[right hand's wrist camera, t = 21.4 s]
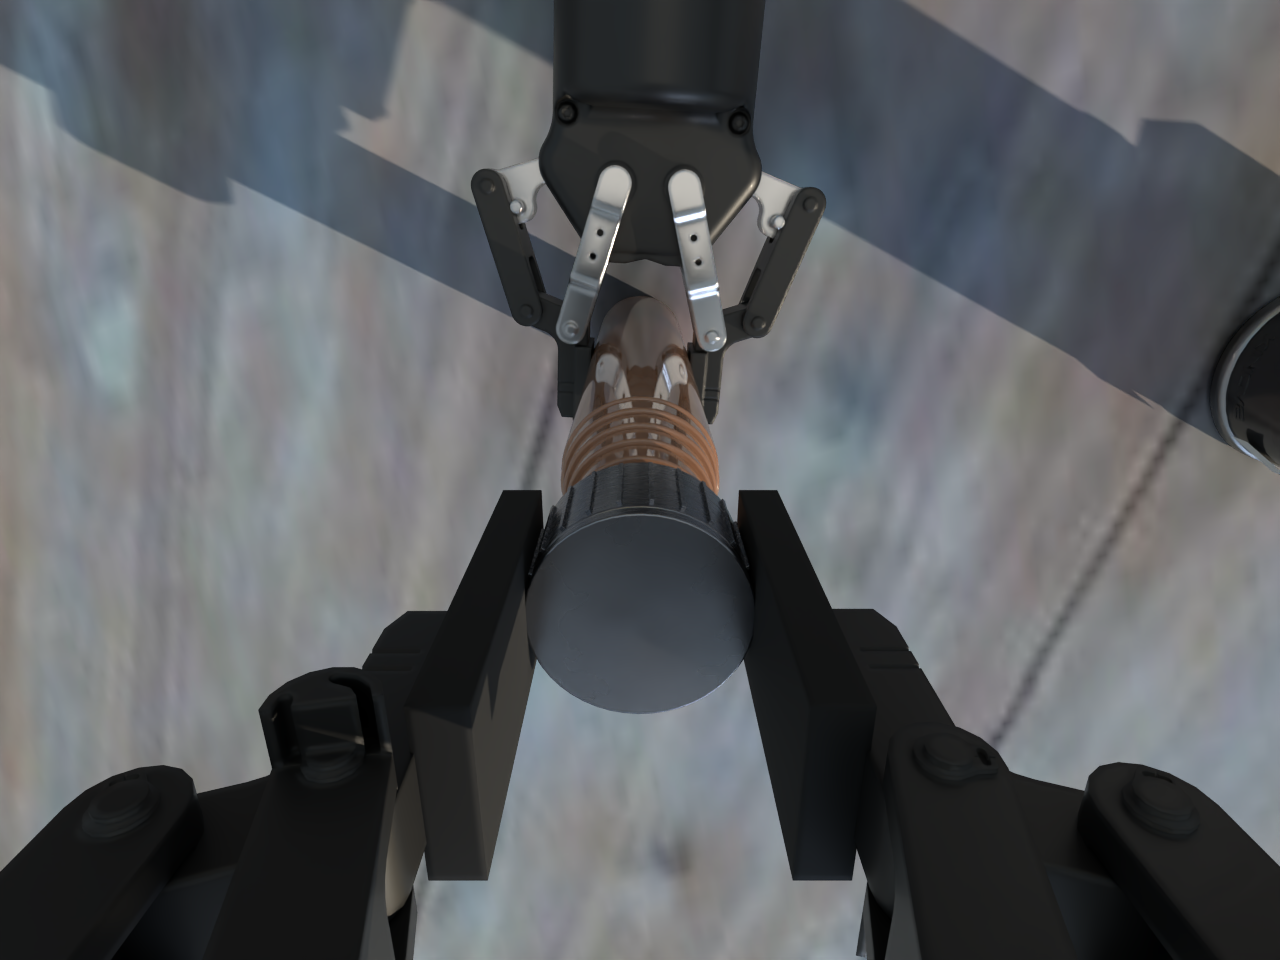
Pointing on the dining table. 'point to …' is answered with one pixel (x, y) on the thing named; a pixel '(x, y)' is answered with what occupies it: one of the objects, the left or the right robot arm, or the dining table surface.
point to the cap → (640, 590)
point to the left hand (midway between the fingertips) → (635, 426)
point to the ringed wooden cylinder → (640, 399)
